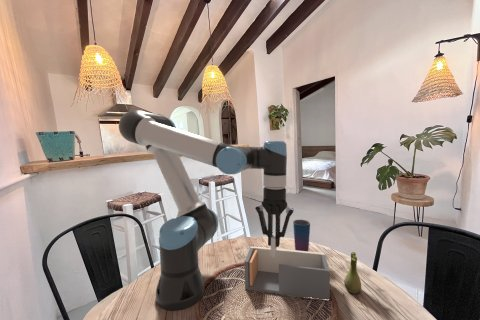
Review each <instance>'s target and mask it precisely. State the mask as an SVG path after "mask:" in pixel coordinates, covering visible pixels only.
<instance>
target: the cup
mask: <svg viewBox="0 0 480 320" xmlns="http://www.w3.org/2000/svg"><path fill="white" fill-rule="evenodd" d="M292 225H293V235H294V237H293V238H294V250H297V251H308V252H309V247H310V230H311V221H309V220H306V219H295V220H293V224H292Z"/></svg>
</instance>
